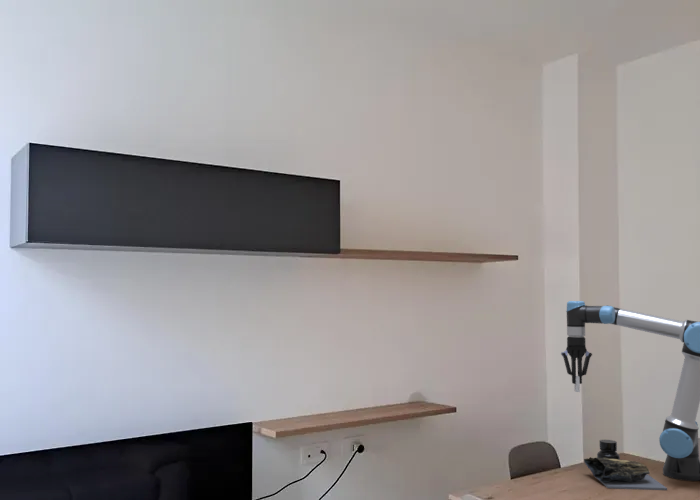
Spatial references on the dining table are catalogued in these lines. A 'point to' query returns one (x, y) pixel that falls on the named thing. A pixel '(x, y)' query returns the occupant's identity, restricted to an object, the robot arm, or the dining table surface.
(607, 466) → the stone block
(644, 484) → the rubber mat
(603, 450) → the ink bottle
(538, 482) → the dining table surface
